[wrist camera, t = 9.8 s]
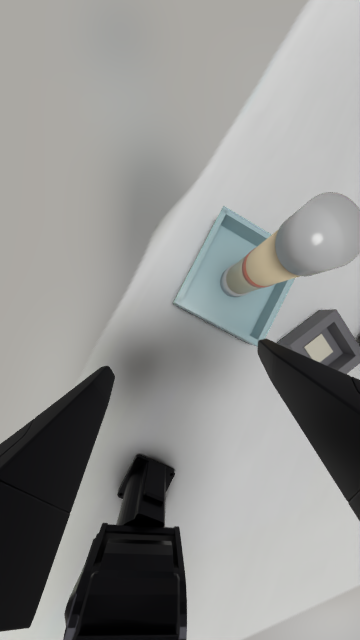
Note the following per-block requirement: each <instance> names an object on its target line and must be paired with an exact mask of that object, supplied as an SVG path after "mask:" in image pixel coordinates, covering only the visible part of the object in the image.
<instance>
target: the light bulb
mask: <svg viewBox="0 0 360 640" xmlns="http://www.w3.org/2000/svg"><path fill="white" fill-rule="evenodd" d="M359 253H360V209H359V208H358V206H357V205H356V204H355V203H354V202H353V201H352V200H351V199H349V198H348V197H346V196H344V195H342V194H339V193H333V192H328V193H322V194H319V195H317V196H315V197H314V198H312V199H311V200H310V201H308V202H307V203H306V204H305V205H304V206H302V207H301V208H300V209H299V210H298V211H296V212H295V213H294V214H293V215H292V216H290V217H289V218H288V219H287V220H286V221H285V222H284V223H283V224H282V225H281V226H280V228H279V230H277V231H276V232H275V233H274V234H272V235H271V236H270V237H269V238H267V239H266V240H265V241H264V242H262V243H261V244H260V245H259V246H257V247H256V248H254V249H253V250H252V251H250V252H249V253H248V254H247V255H246V256H245V257H244V258H242V259H241V260H240V261H239V262H237V263H235V264H233V265H231V266H230V267H229V268H228V269H226V270H225V271H224V272H223V274H222V276H221V278H220V285H221V289H222V290H223V292H224V293H225V294H226V295H228V296H230V297H240V296H243V295H246V294H248V293H250V292H251V291H254V290H258V289H261V288H265V287H269V286H272V285H274V284H277V283H280V282H283V281H286V280H290V279H293V278H296V277H299V276H311V275H315V274H318V273H322V272H325V271H328V270H332V269H335V268H339V267H342V266H345V265H347V264H348V263H350V262H351V261H353V260H354V259H355V258H356V257H357V255H358V254H359Z"/></svg>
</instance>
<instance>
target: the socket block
mask: <svg viewBox="0 0 360 640" xmlns="http://www.w3.org/2000/svg"><path fill="white" fill-rule="evenodd" d="M277 343H278V344H279V345H282V346H284V347H286V348H288V349H291V350H293V351H295V352H297V353H300V354H302V355H304V356H306V357H309V358H311V359H313V360H316V361H318V362H320V363H322V364H325V365H327V366H329V367H331V368H334V369H336V370H338V371H340V372H343V373H345V374H347V373H348V372H349V371H351V370H352V369H353V368H354V367H356V366H357V365H358V364H359V363H360V346H359V345H358V343H357V341H356V340H355V338H354V337H353V335H352V334H351V332H350V330H349V329H348V327H347V326H346V324H345V322H344V321H343V319H342V318H341V316H340V314H339V313H338V311H337V310H336V309H334V310H319V311H318V312H316V313H315V314H314V315H312V316H311V317H310V318H308V319H307V320H306V321H305V322H303V323H302V324H301V325H299V326H298V327H297V328H295V329H294V330H293V331H291V332H290V333H289V334H288V335H286V336H285V337H284V338H282V339H281V340H280V341H278V342H277Z"/></svg>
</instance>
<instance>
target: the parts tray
mask: <svg viewBox="0 0 360 640" xmlns="http://www.w3.org/2000/svg"><path fill="white" fill-rule="evenodd" d="M270 236H271V234H270V233H268V232H266V231H265V230H263V229H261V228H260V227H258V226H256V225H255V224H253V223H251V222H250V221H248V220H246V219H245V218H243V217H241V216H240V215H238V214H237V213H235V212H233V211H232V210H230V209H228V208H227V207H225V206H223V208H222V210H221V212H220V214H219V216H218V218H217V220H216V221H215V223H214V225H213V227H212V229H211V231H210V233H209V235H208V237H207V239H206V241H205V243H204V245H203V247H202V248H201V250H200V252H199V254H198V256H197V258H196V260H195V262H194V264H193V266H192V268H191V270H190V272H189V274H188V275H187V277H186V279H185V281H184V283H183V285H182V287H181V289H180V291H179V293H178V295H177V297H176V299H175V301H174V303H173V304H174V305H176V306H178V307H180V308H182V309H184V310H185V311H187V312H189V313H191V314H193V315H195V316H197V317H199V318H201V319H203V320H204V321H206V322H208V323H210V324H212V325H214V326H216V327H218V328H220V329H222V330H224V331H225V332H227V333H229V334H231V335H233V336H235V337H237V338H239V339H241V340H243V341H244V342H246V343H248V344H251V345H254V346H257V347H258V340H261V339H265V337H266V335H267V333H268V331H269V329H270V327H271V325H272V323H273V321H274V319H275V317H276V315H277V313H278V311H279V309H280V307H281V305H282V303H283V301H284V299H285V297H286V295H287V293H288V291H289V289H290V287H291V285H292V283H293V281H294V279H295V278H293V279H290V280H286V281H283V282H280V283H277V284H274V285H272V286H269V287H265V288H261V289H258V290H254V291H251V292H250V293H248V294H246V295H243V296H240V297H230V296H228V295H226V294H225V293H224V292H223V290H222V289H221V285H220V278H221V276H222V274H223V272H224V271H225V270H226V269H228V268H229V267H230V266H231V265H233V264H235V263H237V262H239V261H240V260H241V259H242V258H244V257H245V256H246V255H247V254H248V253H249V252H250V251H252V250H253V249H254V248H256V247H257V246H259V245H260V244H261V243H262V242H264V241H265V240H266V239H267V238H269V237H270Z"/></svg>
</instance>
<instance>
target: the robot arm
mask: <svg viewBox="0 0 360 640" xmlns="http://www.w3.org/2000/svg"><path fill="white" fill-rule="evenodd" d="M258 355H259V358H260V360H261V362H262V364H263V366H264V368H265V370H266V372H267V374H268V376H269V378H270V380H271V382H272V383H273V385H274V386H275V388H276V390H277V391H278V393H279V394H280V396H281V398H282V399H283V401H284V402H285V404H286V405H287V407H288V409H289V410H290V412H291V413H292V415H293V416H294V418H295V420H296V421H297V423H298V424H299V426H300V427H301V429H302V431H303V432H304V434H305V435H306V437H307V438H308V440H309V442H310V443H311V445H312V446H313V448H314V450H315V451H316V453H317V454H318V456H319V457H320V459H321V461H322V462H323V464H324V465H325V467H326V468H327V470H328V472H329V473H330V475H331V476H332V478H333V479H334V481H335V483H336V484H337V486H338V487H339V489H340V491H341V492H342V494H343V495H344V497H345V498H346V500H347V501H348V503H349V505H350V507H351V508H352V510H353V511H354V513H355V514H356V516H357V518H358V519H359V521H360V380H359V379H356V378H354V377H350V376H349V375H347V374H345V373H343V372H340V371H338V370H336V369H334V368H331V367H329V366H327V365H325V364H322V363H320V362H318V361H316V360H313V359H311V358H309V357H306V356H304V355H302V354H300V353H297V352H295V351H293V350H291V349H288V348H286V347H284V346H282V345H279V344H277V343H275V342H273V341H270V340H268V339H261V340H258ZM114 379H115V376H114V374H113V372H112V370H111V369H110V367H109V366H104V367H101V368H99V369H98V370H97V371H95V372H94V373H93V374H92V375H90V376H89V377H88V378H86V379H85V380H84V381H82V382H81V383H80V384H79V385H77V386H76V387H75V388H73V389H72V390H71V391H69V392H68V393H67V394H66V395H64V396H63V397H62V398H60V399H59V400H58V401H57V402H55V403H54V404H53V405H51V406H50V407H49V408H47V409H46V410H45V411H43V412H42V413H41V414H40V415H38V416H37V417H36V418H35V419H33V420H32V421H30V422H29V423H28V424H27V425H25V426H24V427H23V428H21V429H20V430H19V431H17V432H16V433H15V434H13V435H12V436H11V437H9V438H8V439H7V440H5V441H4V442H2V443H1V444H0V631H8V630H16V629H24V628H29V627H30V626H31V623H32V621H33V618H34V616H35V613H36V610H37V608H38V605H39V602H40V599H41V596H42V593H43V590H44V587H45V585H46V582H47V579H48V576H49V573H50V570H51V567H52V564H53V562H54V559H55V556H56V553H57V550H58V547H59V544H60V541H61V539H62V536H63V533H64V530H65V527H66V524H67V521H68V518H69V516H70V512H71V509H72V507H73V504H74V501H75V498H76V495H77V492H78V489H79V487H80V484H81V481H82V478H83V475H84V472H85V469H86V466H87V464H88V461H89V458H90V455H91V452H92V449H93V446H94V444H95V441H96V438H97V435H98V432H99V429H100V426H101V423H102V421H103V418H104V415H105V412H106V409H107V406H108V403H109V399H110V395H111V391H112V387H113V383H114ZM174 475H175V470H174V469H173V468H171V467H168V466H166V465H164V464H161V463H159V462H156V461H154V460H152V459H149V458H147V457H145V456H142V455H137V456H136V457H135V459H134V461H133V463H132V465H131V467H130V469H129V471H128V473H127V475H126V477H125V479H124V481H123V483H122V484H121V486H120V488H119V491H118V494H117V495H118V497H119V498H122V499H123V501H122V505H121V509H120V513H119V517H118V521H117V525H108V523H103V524H102V527H101V529H100V532H99V533H98V534H97V536H96V538H95V539H93V542H92V545H91V548H90V551H89V554H88V557H87V560H86V563H85V565H84V568H83V570H82V572H81V574H80V576H79V579H78V581H77V583H76V585H75V587H74V589H73V592H72V594H71V596H70V598H69V601H68V603H67V606H66V610H65V622H66V630H65V634H64V639H63V640H186V635H187V597H186V579H185V570H184V562H183V554H182V546H181V537H180V529H179V527H174V528H168V527H165V493H166V491H167V489H168V487H169V485H170V483H171V481H172V479H173V477H174Z"/></svg>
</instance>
